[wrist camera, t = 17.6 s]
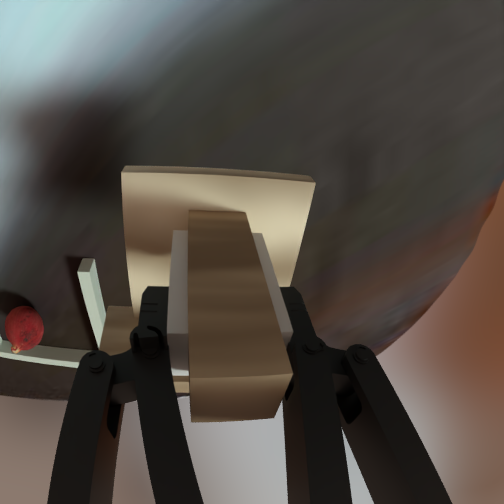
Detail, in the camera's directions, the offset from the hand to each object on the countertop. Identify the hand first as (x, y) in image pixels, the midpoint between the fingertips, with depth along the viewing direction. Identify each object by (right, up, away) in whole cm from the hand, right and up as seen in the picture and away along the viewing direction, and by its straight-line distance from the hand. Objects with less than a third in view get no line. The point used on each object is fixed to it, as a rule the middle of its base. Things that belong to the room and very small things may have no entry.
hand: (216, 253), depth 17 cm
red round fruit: (-29, -8, +21) cm, 37 cm away
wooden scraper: (-1, 0, +3) cm, 3 cm away
